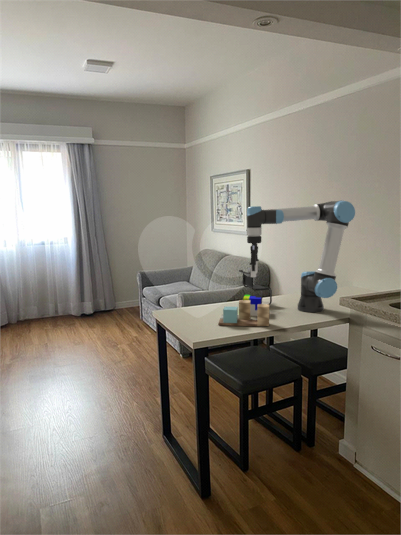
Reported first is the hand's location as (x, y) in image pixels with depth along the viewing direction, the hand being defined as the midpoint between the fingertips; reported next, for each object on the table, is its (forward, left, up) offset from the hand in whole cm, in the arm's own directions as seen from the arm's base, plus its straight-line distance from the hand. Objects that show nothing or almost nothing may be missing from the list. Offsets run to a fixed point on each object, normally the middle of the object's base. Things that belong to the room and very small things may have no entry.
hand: (254, 275), depth 216 cm
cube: (+12, +10, -23) cm, 28 cm away
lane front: (+5, +10, -24) cm, 27 cm away
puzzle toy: (+1, -13, -25) cm, 28 cm away
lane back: (+10, +1, -24) cm, 26 cm away
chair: (0, -35, -25) cm, 43 cm away
